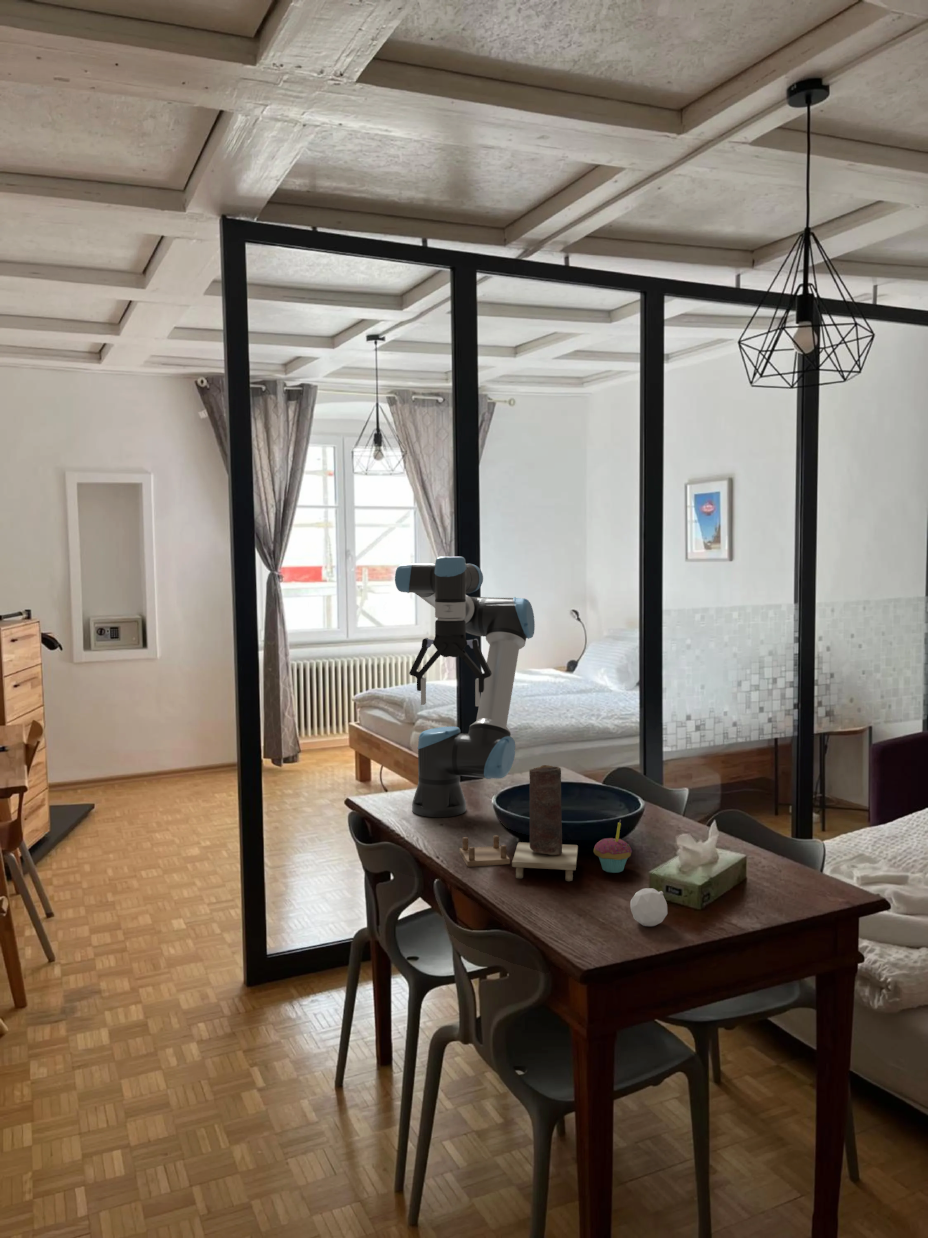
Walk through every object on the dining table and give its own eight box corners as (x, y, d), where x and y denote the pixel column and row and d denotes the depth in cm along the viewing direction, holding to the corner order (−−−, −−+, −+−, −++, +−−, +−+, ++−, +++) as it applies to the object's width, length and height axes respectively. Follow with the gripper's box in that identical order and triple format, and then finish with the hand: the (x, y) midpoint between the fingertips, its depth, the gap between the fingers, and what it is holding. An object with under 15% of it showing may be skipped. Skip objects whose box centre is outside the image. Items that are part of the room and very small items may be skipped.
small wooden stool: (518, 858, 224) (518, 842, 223) (577, 862, 222) (577, 845, 221) (512, 879, 210) (512, 861, 210) (575, 882, 208) (575, 865, 207)
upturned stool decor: (459, 853, 228) (459, 837, 228) (499, 850, 230) (499, 834, 230) (467, 866, 218) (467, 849, 218) (509, 864, 220) (509, 847, 220)
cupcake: (638, 869, 217) (639, 818, 216) (617, 878, 210) (618, 825, 209) (607, 860, 222) (607, 810, 222) (585, 869, 216) (586, 818, 215)
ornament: (645, 913, 190) (670, 886, 188) (656, 940, 183) (682, 912, 181) (618, 900, 188) (643, 872, 185) (628, 927, 181) (654, 898, 179)
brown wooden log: (538, 860, 211) (538, 771, 209) (523, 850, 217) (523, 764, 216) (568, 855, 214) (568, 768, 212) (552, 846, 220) (552, 761, 219)
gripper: (397, 619, 230) (397, 705, 232) (499, 621, 227) (498, 708, 228) (404, 617, 238) (404, 701, 239) (502, 618, 234) (502, 703, 236)
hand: (450, 704), depth 234 cm, fingers open, 13 cm apart
